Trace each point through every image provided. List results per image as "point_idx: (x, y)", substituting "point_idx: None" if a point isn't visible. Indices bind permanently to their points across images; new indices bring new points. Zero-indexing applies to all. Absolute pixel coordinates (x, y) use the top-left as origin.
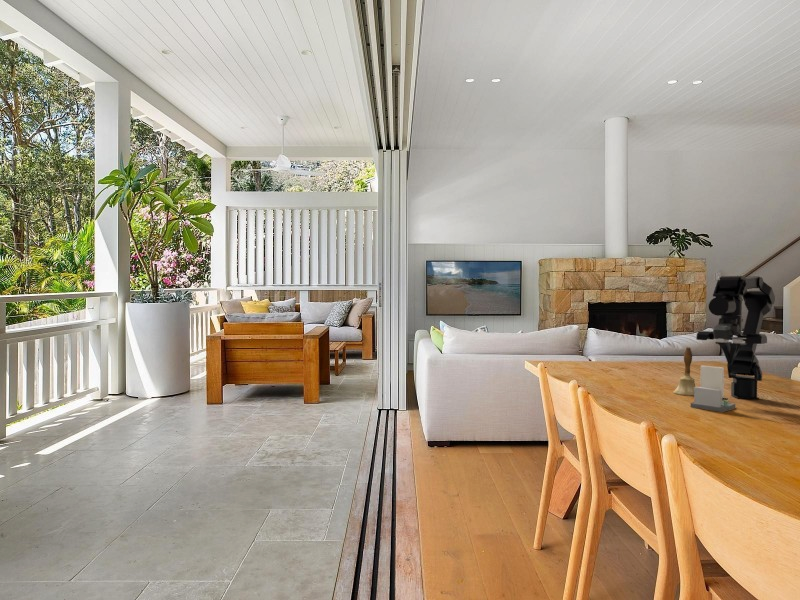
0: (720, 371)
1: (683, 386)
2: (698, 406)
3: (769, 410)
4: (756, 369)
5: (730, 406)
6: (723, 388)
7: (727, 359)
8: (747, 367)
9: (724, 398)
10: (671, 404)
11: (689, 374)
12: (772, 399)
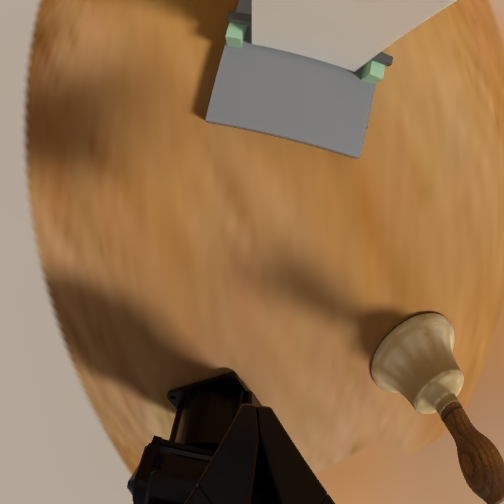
0: None
1: (442, 346)
2: None
3: (86, 174)
4: (137, 472)
5: (221, 61)
6: (252, 5)
7: (280, 440)
8: (172, 477)
9: (243, 13)
10: (443, 58)
11: (442, 406)
12: (140, 412)
